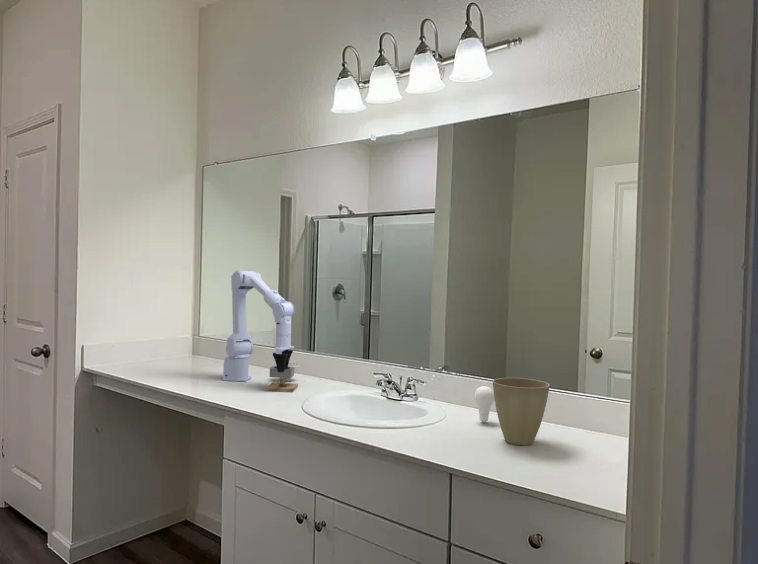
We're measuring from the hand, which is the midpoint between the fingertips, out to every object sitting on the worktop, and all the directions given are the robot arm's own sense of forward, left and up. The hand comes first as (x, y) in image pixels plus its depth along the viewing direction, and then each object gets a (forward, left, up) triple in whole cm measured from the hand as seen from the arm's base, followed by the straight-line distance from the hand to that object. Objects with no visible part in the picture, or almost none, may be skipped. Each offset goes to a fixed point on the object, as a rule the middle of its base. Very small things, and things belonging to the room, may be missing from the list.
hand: (282, 370), depth 209 cm
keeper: (0, 0, -7) cm, 7 cm away
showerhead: (-1, +15, -7) cm, 17 cm away
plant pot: (+77, -55, -7) cm, 95 cm away
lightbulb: (+70, -37, -7) cm, 80 cm away
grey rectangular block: (0, 0, -2) cm, 2 cm away
